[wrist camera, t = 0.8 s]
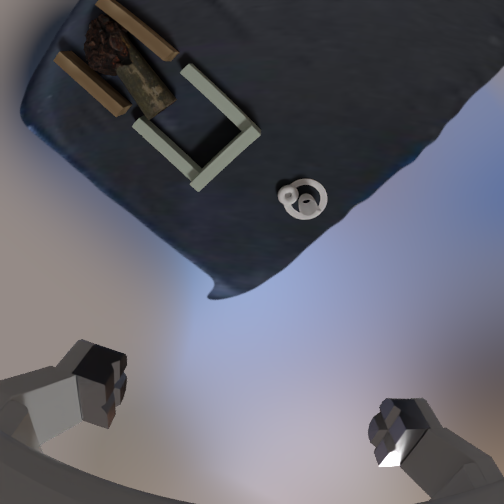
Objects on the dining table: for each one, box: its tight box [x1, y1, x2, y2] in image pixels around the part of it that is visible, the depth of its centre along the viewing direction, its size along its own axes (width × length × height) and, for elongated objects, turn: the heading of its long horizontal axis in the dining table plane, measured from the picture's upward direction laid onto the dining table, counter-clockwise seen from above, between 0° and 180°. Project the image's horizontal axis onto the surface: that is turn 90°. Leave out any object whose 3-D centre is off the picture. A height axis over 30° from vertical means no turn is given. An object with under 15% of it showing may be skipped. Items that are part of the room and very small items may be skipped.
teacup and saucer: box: [278, 179, 357, 220], centre depth 55 cm, size 9×8×4 cm
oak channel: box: [54, 0, 179, 117], centre depth 41 cm, size 14×17×4 cm
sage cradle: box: [132, 64, 261, 192], centre depth 48 cm, size 14×16×4 cm
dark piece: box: [84, 14, 177, 121], centre depth 41 cm, size 21×8×7 cm, turn 31°
